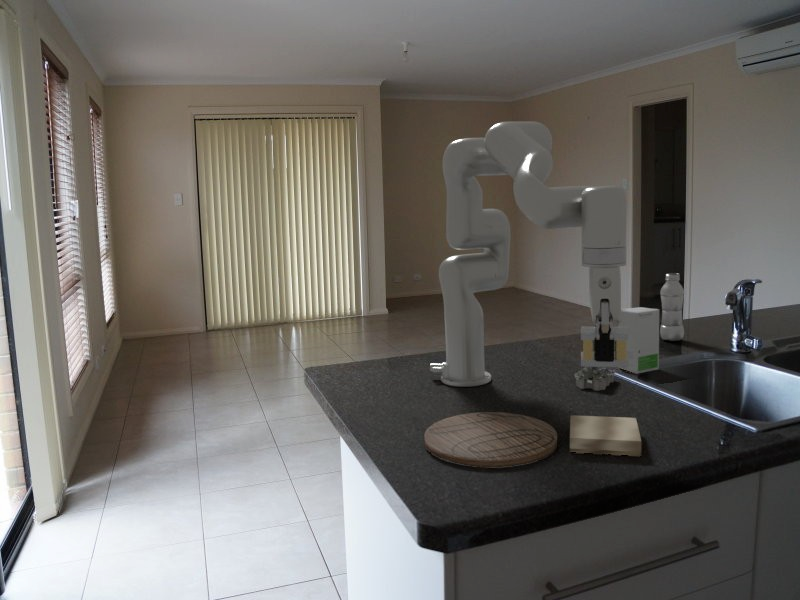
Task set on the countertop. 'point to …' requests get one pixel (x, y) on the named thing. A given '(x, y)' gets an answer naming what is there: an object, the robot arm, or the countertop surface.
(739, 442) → the countertop surface
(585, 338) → the block
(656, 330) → the skincare box
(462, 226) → the robot arm
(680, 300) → the plastic bottle
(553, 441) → the trivet
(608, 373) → the egg carton
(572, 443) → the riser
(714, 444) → the countertop surface
